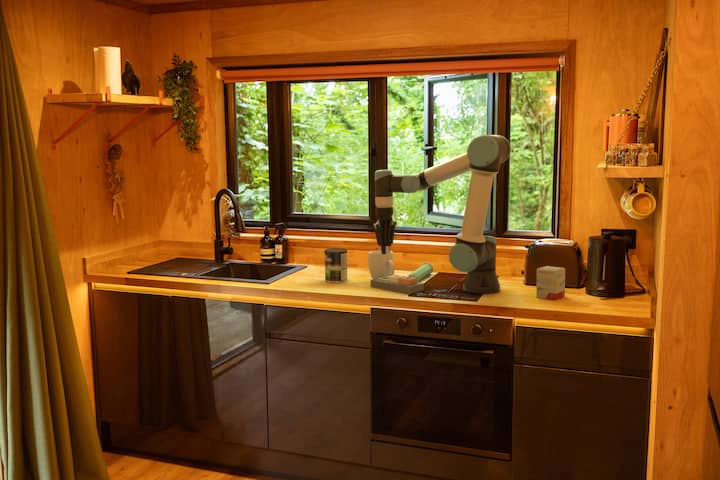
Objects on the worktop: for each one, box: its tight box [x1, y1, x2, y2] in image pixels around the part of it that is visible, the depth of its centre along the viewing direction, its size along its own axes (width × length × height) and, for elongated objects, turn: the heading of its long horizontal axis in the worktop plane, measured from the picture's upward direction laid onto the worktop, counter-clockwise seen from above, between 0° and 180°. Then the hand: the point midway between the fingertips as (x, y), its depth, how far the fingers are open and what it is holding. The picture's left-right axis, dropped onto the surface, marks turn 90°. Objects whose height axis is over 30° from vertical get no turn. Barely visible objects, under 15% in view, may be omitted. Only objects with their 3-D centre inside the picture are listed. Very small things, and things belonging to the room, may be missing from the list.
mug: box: [367, 250, 395, 280], centre depth 319 cm, size 15×11×13 cm
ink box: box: [535, 265, 566, 301], centre depth 285 cm, size 9×9×12 cm
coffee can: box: [323, 247, 348, 284], centre depth 323 cm, size 10×10×14 cm
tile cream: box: [388, 274, 406, 284], centre depth 305 cm, size 5×5×4 cm
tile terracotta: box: [400, 275, 417, 286], centre depth 300 cm, size 5×5×4 cm
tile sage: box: [377, 277, 388, 282], centre depth 309 cm, size 5×5×4 cm
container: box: [407, 262, 434, 283], centre depth 324 cm, size 6×6×25 cm
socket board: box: [370, 279, 425, 295], centre depth 305 cm, size 22×9×3 cm, turn 46°
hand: (385, 261), depth 308 cm, fingers closed
